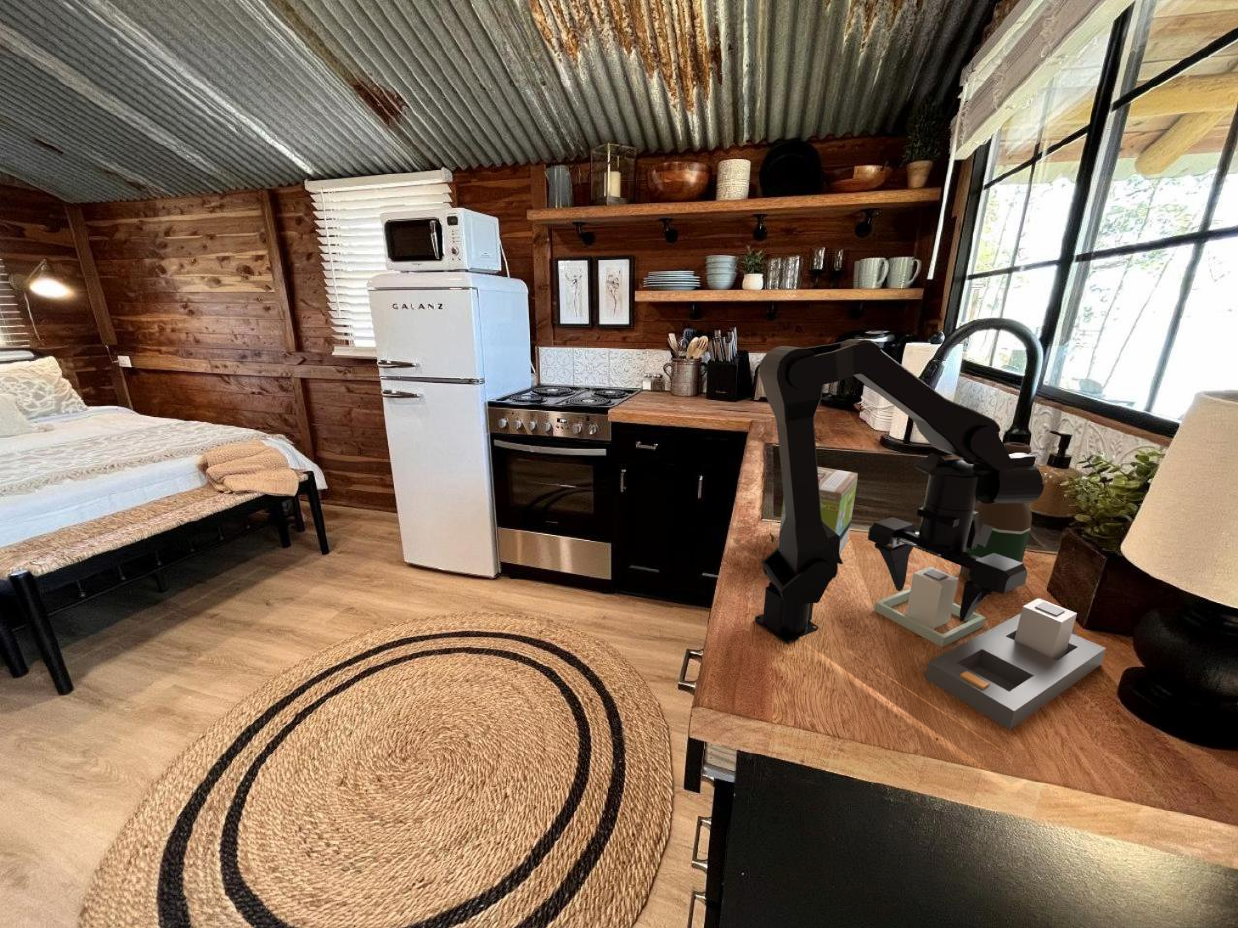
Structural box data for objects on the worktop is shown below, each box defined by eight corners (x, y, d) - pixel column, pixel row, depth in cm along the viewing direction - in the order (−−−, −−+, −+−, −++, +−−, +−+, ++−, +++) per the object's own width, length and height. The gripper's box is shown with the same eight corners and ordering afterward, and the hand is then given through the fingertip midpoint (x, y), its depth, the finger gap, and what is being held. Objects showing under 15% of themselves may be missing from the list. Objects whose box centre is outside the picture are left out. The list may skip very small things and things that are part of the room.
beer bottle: (1015, 580, 84) (1048, 442, 78) (1015, 600, 78) (1051, 452, 72) (960, 567, 89) (987, 436, 82) (957, 585, 83) (985, 445, 76)
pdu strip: (1008, 734, 53) (1014, 708, 52) (924, 682, 61) (928, 659, 60) (1109, 660, 64) (1116, 638, 63) (1028, 625, 72) (1033, 604, 71)
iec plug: (933, 629, 70) (942, 583, 68) (905, 615, 73) (913, 571, 71) (949, 621, 72) (958, 577, 70) (922, 608, 75) (930, 565, 73)
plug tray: (941, 651, 66) (944, 637, 66) (873, 613, 75) (875, 602, 74) (982, 629, 71) (985, 617, 70) (914, 596, 79) (916, 585, 79)
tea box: (831, 571, 88) (841, 492, 84) (775, 556, 93) (782, 481, 89) (849, 541, 99) (859, 470, 95) (798, 530, 105) (805, 462, 101)
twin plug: (1047, 671, 61) (1062, 620, 59) (1011, 653, 65) (1023, 604, 63) (1063, 661, 63) (1077, 611, 61) (1026, 644, 67) (1038, 596, 65)
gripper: (1061, 515, 63) (1033, 622, 68) (917, 477, 79) (902, 565, 84) (1016, 532, 58) (989, 646, 63) (872, 487, 74) (858, 581, 79)
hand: (929, 604), depth 72 cm, fingers open, 9 cm apart
